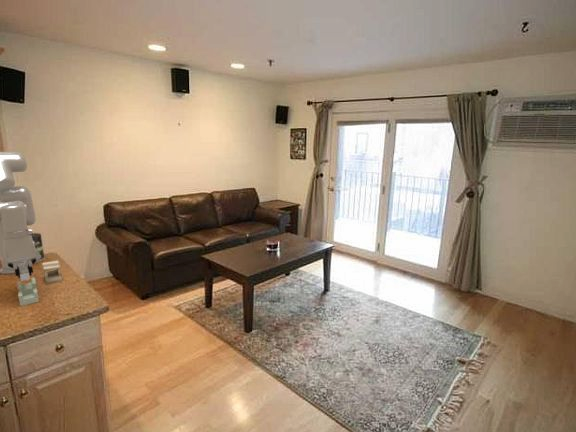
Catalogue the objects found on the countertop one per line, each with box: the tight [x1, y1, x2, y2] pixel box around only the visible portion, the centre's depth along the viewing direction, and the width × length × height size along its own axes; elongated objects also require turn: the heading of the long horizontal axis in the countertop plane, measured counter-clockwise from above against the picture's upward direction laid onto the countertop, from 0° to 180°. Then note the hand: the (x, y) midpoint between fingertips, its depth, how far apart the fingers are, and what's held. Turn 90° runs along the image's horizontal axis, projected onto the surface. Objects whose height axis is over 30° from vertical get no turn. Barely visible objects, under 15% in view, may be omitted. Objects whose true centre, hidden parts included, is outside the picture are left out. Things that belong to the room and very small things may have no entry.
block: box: [41, 259, 63, 285], centre depth 158 cm, size 10×6×8 cm, turn 40°
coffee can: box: [27, 232, 46, 264], centre depth 179 cm, size 10×10×14 cm
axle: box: [18, 260, 31, 282], centre depth 141 cm, size 16×3×3 cm, turn 40°
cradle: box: [16, 277, 40, 307], centre depth 142 cm, size 18×6×4 cm, turn 40°
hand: (24, 275), depth 138 cm, fingers closed on axle, 3 cm apart
